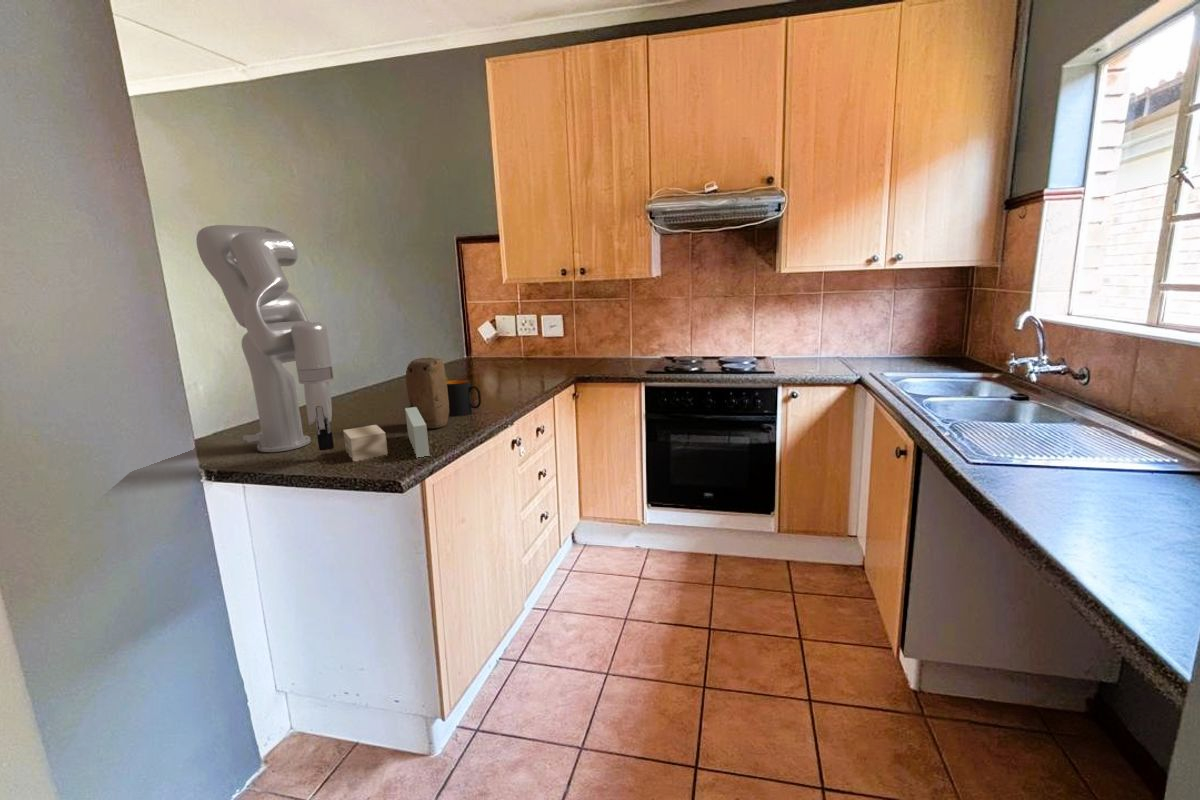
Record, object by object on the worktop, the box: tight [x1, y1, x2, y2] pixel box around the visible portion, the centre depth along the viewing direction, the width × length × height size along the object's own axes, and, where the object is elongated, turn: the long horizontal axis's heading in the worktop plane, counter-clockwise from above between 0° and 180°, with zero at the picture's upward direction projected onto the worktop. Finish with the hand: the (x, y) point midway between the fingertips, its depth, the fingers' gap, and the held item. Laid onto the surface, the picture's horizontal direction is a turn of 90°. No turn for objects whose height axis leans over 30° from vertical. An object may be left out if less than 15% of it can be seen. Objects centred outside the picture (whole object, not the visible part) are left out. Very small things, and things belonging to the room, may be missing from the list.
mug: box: [447, 378, 482, 417], centre depth 179 cm, size 8×12×10 cm
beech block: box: [342, 424, 389, 462], centre depth 141 cm, size 8×10×6 cm
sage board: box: [404, 407, 431, 459], centre depth 146 cm, size 3×22×8 cm, turn 24°
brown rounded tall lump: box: [405, 357, 450, 430], centre depth 164 cm, size 11×8×20 cm
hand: (326, 448), depth 138 cm, fingers closed
